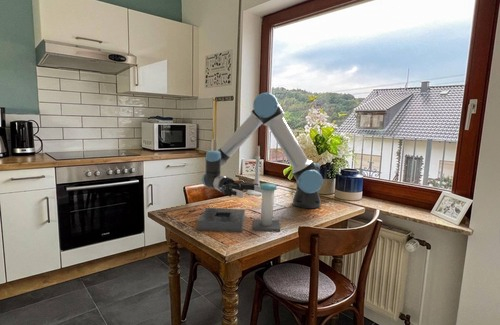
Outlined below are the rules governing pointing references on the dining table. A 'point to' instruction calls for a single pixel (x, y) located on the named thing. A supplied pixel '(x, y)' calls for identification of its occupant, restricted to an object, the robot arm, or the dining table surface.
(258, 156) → the candlestick
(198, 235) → the dining table surface
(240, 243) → the dining table surface
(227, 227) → the block
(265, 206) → the teal capped tube
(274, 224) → the pad
